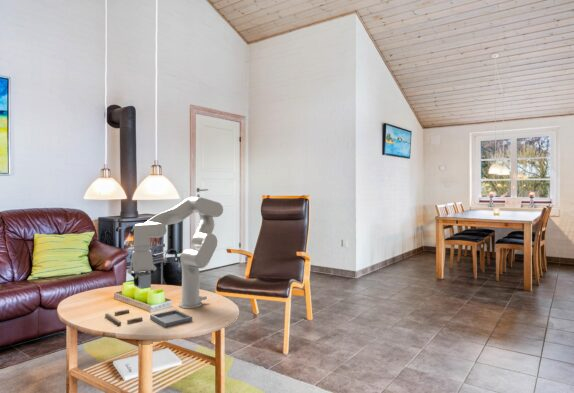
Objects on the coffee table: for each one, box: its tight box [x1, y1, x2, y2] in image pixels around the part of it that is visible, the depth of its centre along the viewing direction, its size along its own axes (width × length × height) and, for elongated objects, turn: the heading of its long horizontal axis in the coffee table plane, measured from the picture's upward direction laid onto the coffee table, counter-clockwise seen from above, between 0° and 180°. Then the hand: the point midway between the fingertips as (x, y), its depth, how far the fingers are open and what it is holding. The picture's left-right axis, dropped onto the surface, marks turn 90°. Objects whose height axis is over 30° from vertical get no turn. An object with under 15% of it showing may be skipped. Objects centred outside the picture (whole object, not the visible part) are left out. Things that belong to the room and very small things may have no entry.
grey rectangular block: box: [133, 271, 152, 290], centre depth 203 cm, size 5×9×7 cm, turn 42°
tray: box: [149, 309, 193, 328], centre depth 202 cm, size 14×16×2 cm
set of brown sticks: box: [104, 309, 143, 327], centre depth 202 cm, size 12×17×2 cm
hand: (142, 284), depth 203 cm, fingers closed on grey rectangular block, 5 cm apart
